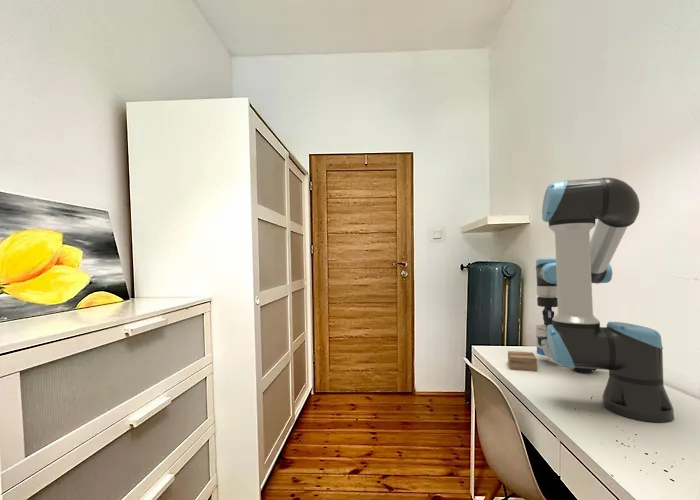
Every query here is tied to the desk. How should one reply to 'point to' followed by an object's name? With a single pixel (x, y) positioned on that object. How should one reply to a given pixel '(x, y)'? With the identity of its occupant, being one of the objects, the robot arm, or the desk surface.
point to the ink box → (541, 340)
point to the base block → (522, 361)
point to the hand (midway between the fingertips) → (549, 353)
